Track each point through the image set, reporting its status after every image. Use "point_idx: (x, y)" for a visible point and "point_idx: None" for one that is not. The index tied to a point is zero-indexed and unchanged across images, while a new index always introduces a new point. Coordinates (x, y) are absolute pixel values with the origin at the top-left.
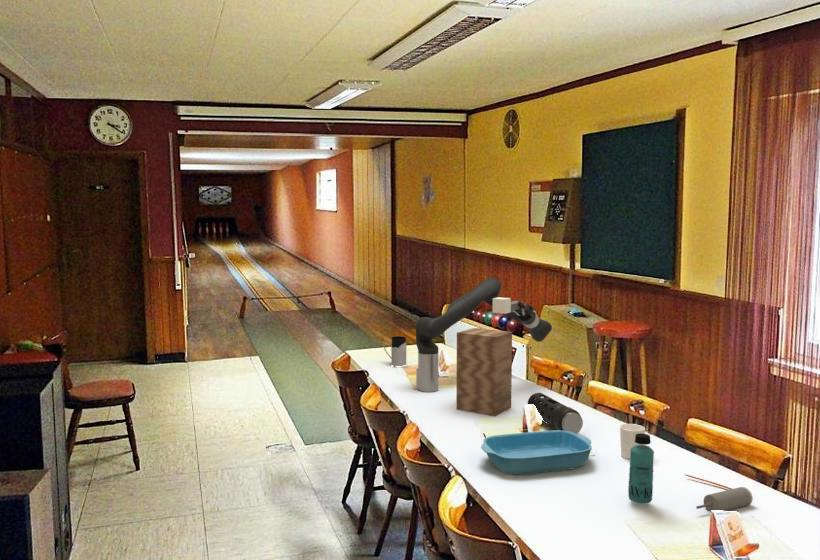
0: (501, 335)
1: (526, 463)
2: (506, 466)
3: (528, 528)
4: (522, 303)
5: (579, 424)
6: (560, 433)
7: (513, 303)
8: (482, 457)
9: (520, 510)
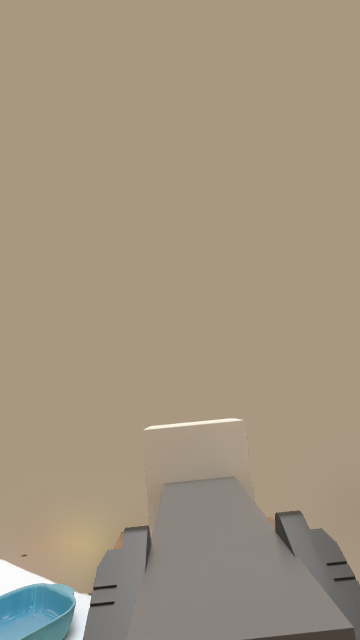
0: (114, 547)
1: (6, 604)
2: (34, 601)
3: (6, 570)
4: (94, 593)
5: None
6: None
7: (169, 510)
8: (78, 635)
9: (13, 581)
